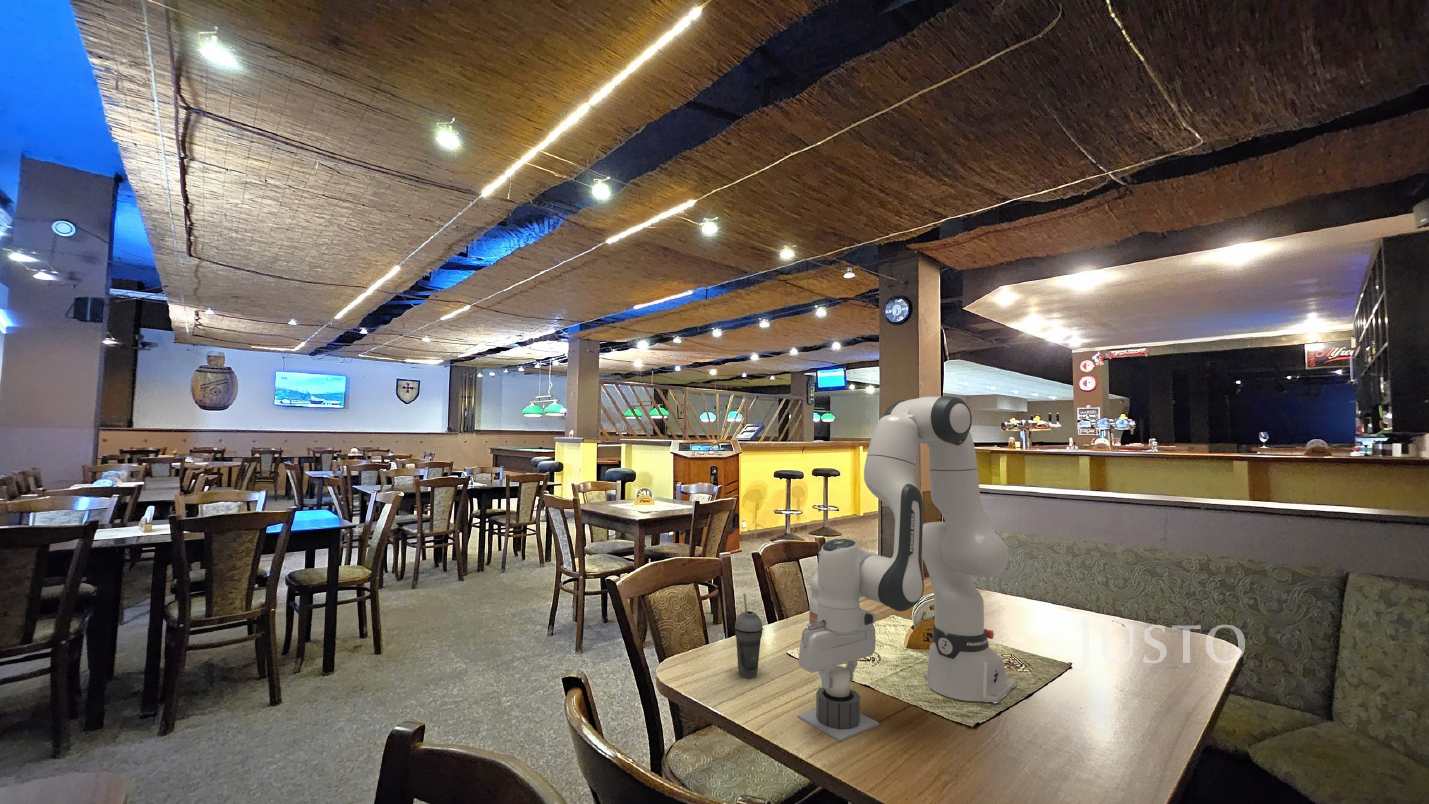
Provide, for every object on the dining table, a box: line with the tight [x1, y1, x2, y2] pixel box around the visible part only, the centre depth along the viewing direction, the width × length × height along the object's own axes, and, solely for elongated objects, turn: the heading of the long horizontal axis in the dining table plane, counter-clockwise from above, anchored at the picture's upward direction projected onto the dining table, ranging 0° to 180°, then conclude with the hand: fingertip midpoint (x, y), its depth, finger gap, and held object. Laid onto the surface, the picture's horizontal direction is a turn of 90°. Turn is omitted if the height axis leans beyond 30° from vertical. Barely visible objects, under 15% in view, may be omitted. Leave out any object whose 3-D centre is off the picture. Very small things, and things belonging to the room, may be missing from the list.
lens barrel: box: [796, 687, 880, 742], centre depth 123 cm, size 12×12×5 cm
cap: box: [826, 665, 851, 697], centre depth 123 cm, size 5×5×4 cm
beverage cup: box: [733, 593, 764, 680], centre depth 147 cm, size 7×7×20 cm
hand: (837, 684), depth 123 cm, fingers closed on cap, 5 cm apart
